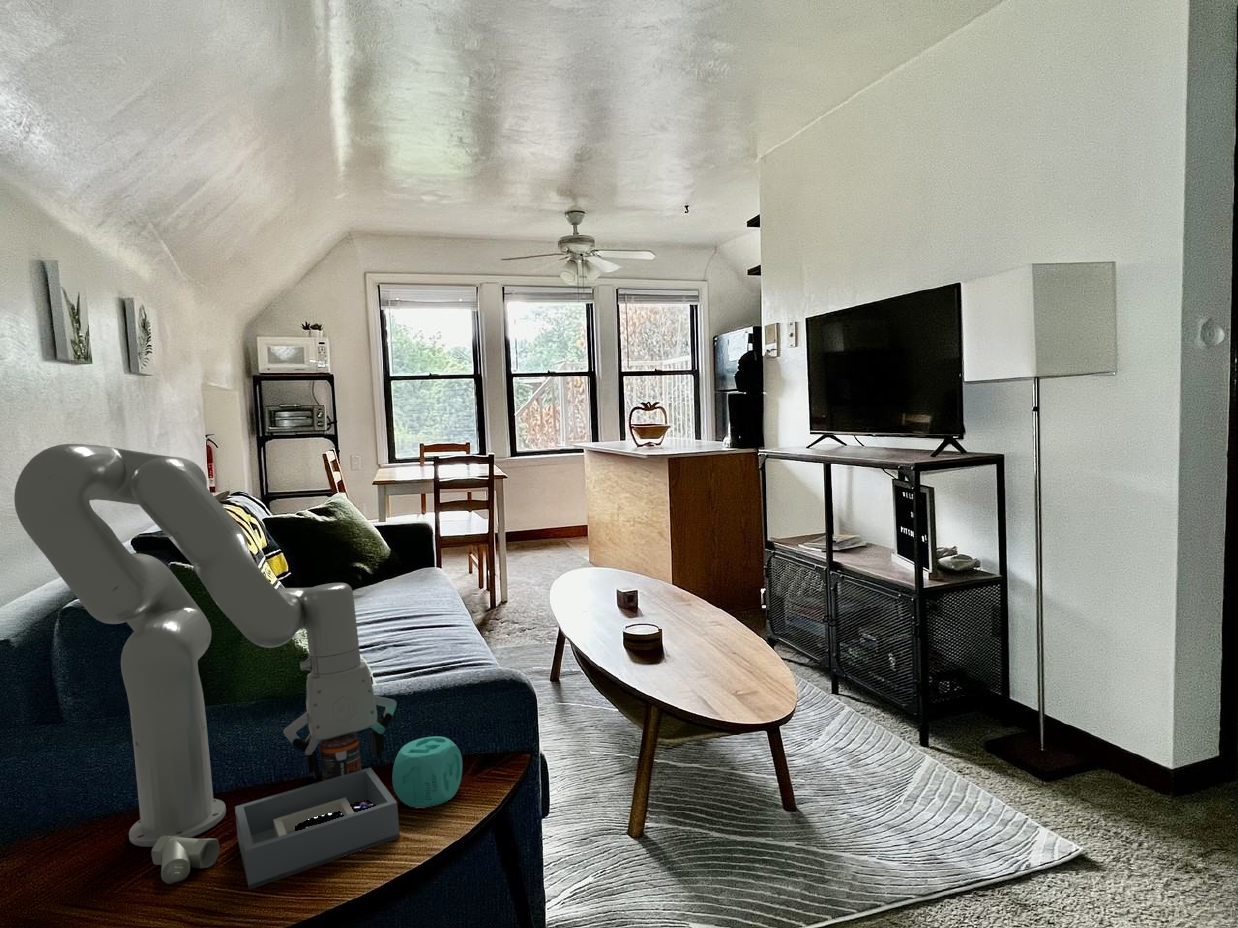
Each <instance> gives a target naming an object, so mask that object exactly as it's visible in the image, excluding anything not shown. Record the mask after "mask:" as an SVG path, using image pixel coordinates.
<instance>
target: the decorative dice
mask: <svg viewBox="0 0 1238 928" xmlns="http://www.w3.org/2000/svg"><path fill="white" fill-rule="evenodd" d="M393 763H394V764H393V766H392V773H391V775H392V776H391V777H392V778H391V779H392V780H391V781H392V782H391V783H392V787H393V791H394V793H395V794H396V796H397V798H398V799H399V800H400V801H401V802H402V803H403V804H404V805H405V806H407V805H408V806H407V807H409V806H410V807H409V808H412V807H430V806H435V805H438V804H441V805H443V804H445V803H447V802H449V801H450V800H452V799H453V797H454V796H455V795H457V792H458V790H459V787H460V785H461V781H462V775H463V756H462V753H461V750H460V749H459V747H458V746H457V744H455V743H454V741H452V740H451V739H449V738H447V737H445V736H440V735H439V736H437V735H434V736H427V737H425V736H424V737H421V738H418V739H414V740H412V741H409V742H407V743H406V744H404V745H403V746H402V747H401V748H400V750H398V752H397V755H396V757H395V760H394V762H393ZM448 800H449V801H448ZM446 801H447V802H446ZM444 802H445V803H444ZM442 803H443V804H442ZM438 806H439V805H438ZM435 807H436V806H435ZM430 808H431V807H430Z"/></svg>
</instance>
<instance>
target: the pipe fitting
mask: <svg viewBox="0 0 1238 928" xmlns="http://www.w3.org/2000/svg"><path fill="white" fill-rule="evenodd" d="M220 853H221V847H220V842H219V839H218V838H209V837H208V838H194V837H191V838H181V837H180V836H161V837H160V838H159V839H158V841H157V842H156V843H155V845H154V847H152V849H151V858H152V859H151V860H152V863H153V865H158V866H161V871H160V876H161V880H162V881H163V882H164V883H166V884H168V885H171V884H174V883H178V882H181V881H184V880H185V879H187V877H188V876H189V874H190V872H191V868H193V869H205V868H207V869H208V868H211V867H212V866H213V865H214V864H215V862H216V861H217V860H218V857H219V855H220Z"/></svg>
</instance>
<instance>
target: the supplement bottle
mask: <svg viewBox="0 0 1238 928" xmlns="http://www.w3.org/2000/svg"><path fill="white" fill-rule="evenodd" d="M319 748H320V750H319V751H320V762H321V776H322V777H321V778H322V781H325V780H328V779H332V778H335V777H339V776H342V775H346V774H349V773H353V772H356V771H360V770H362V761H361V752H360V751H361V749H360V738H359V735H358V733H357V732H353V733H350V734H346V735H343V736H339V737H335V738H332V739H328V740H323V741H320V742H319Z"/></svg>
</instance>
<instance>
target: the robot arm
mask: <svg viewBox="0 0 1238 928" xmlns="http://www.w3.org/2000/svg"><path fill="white" fill-rule="evenodd" d="M14 488H15V489H14V496H13V498H14V508H15V512H16V515H17V517H18V519H19V522H20V525H21V526H22V527H23V529H24V530H25V532H26V534H27V535H28V536H29V538H30V539H31V540H32V542H33V543H34V544H35V545H36V546H37V547H38V549H39V550H40V551H41V552H42V553H43V555H44V556H45V558H46V559H47V561H49V562H50V564H51V565H52V566H53V569H54V570H55V571H56V573H58V575H59V576H60V578H61V579H62V581H64V583H65V584H66V586H67V587H68V588H69V589H70V590H71V592H72V593H73V595H75V597H76V598H77V600H78V601H79V602H80V603H81V605H82V606H83V607H84V609H85V610H86V611H87V613H88V614H89V615H90V616H92V617H93V618H94V619H96V621H99V622H101V623H103V624H108V625H118V624H123V623H127V624H128V626H129V627H130V629H132V631H133V632H132V633H131V634H130V636H129V637H128V638H127V640H126V642H125V643H124V646H123V647H122V650H121V656H120V669H121V670H120V671H121V676H122V680H123V684H124V688H125V691H126V695H127V702H128V706H129V708H128V709H129V716H130V724H131V725H130V726H131V733H132V734H131V735H132V743H133V753H134V762H135V763H134V764H135V775H136V785H137V787H136V788H137V796H138V807H139V818H140V819H139V820H138V821H136V822H134V824H133V825H132V826H131V827H130V829H129V832H128V837H129V838H128V839H129V841H130V843H131V844H133V845H135V846H137V847H144V848H153V847H154V845H155V843H156V842H157V841H158V839H159V838H160V837H161V836H180V837H181V838H194V837H196V836H198V835H201V834H202V833H204V832H206V831H209V830H210V829H212V828H213V827H215V826H216V825H218V824H219V823H220V822H221V821H222V820H223V819H224V818H225V816H226V813H227V808H226V804H225V802H224V801H223V800H221V799H219V798H218V799H217V798H214V792H213V790H214V789H213V781H212V780H213V779H212V769H211V768H212V767H211V760H210V759H211V758H210V749H209V737H208V727H207V726H208V725H207V716H206V706H205V699H204V698H205V697H204V691H203V685H202V681H201V677H200V673H199V672H200V671H199V665H198V664H199V663H198V662H199V660H200V659H201V657H203V656H204V654H205V653H206V651H207V650H208V648H209V647H210V645H211V641H212V628H211V624H210V622H209V620H208V619H207V616H206V615H205V613H204V612H203V611H202V609H201V608H200V607H199V605H198V604H197V603H196V601H195V600H194V599H193V598H192V596H191V595H190V593H189V592H188V591H187V590H186V589H185V587H184V585H183V584H182V583H181V582H180V581H179V579H178V578H177V577H176V575H175V574H174V573H173V571H172V570H171V569H170V568H169V567H168V566H167V565H166V564H165V563H164V562H163V561H162V560H159V559H158V558H156V557H154V556H152V555H149V554H146V553H145V554H144V553H131V552H130V551H129V549H127V548H126V546H125V545H124V544H123V543H122V541H121V540H120V539H119V538H118V536H117V535H116V533H115V532H114V530H113V529H112V528H111V527H110V525H108V524H107V522H105V520H103V519H102V518H101V516H99V515H98V513H96V512H95V510H94V509H93V508H92V506H91V505H92V504H91V502H90V501H94V500H97V501H98V500H99V501H109V502H115V503H123V504H130V505H137V506H140V507H141V509H142V510H143V511H144V512H145V514H147V515H148V517H149V518H150V519H151V520H152V521H153V522H154V523H155V524H156V526H158V528H159V529H160V530H161V531H162V532H163V533H164V535H165V536H166V537H167V538H168V539H169V540H170V541H171V542H172V543H173V545H174V546H175V547H176V548H177V549H178V550H179V551H180V553H181V554H182V555H183V556H184V557H185V559H187V561H188V562H189V563H190V564H191V565H192V567H193V569H194V572H195V574H196V575H197V577H198V578H199V579H200V581H201V583H202V584H203V586H204V587H205V588H206V591H207V592H208V594H209V595H210V596H211V598H212V600H213V601H214V602H215V604H216V605H217V606H218V608H219V609H220V610H221V612H223V614H224V615H225V616H226V617H227V618H228V619H229V620H230V621H231V622H232V624H233V625H234V626H235V627H236V628H237V630H239V631H240V632H241V634H242V635H243V636H244V637H245V638H246V639H247V640H248V641H250V642H251V643H253V644H254V645H256V646H259V647H262V648H267V649H272V648H277V647H280V646H283V645H285V644H287V643H288V642H290V641H291V640H292V639H293V638H294V637H295V635H296V634H297V633H298V632H299V631H300V630H304V631H306V638H307V647H308V655H307V656H308V657H307V659H305V660H304V661H300V662H299V664H300V666H299V667H300V670H301V671H309V673H308V674H307V676H306V685H305V705H306V708H305V709H306V710H305V712H304V713H303V714H301V715H300V716H299V717H297V719H295V720H294V721H293V722H291V723H290V724H288V726H286V727H285V728H284V729H283V735H284V737H286V738H287V740H288V741H289V743H290V744H291V745H292V746H293V747H294V748H296V750H299V751H301V752H302V753H304V754H305V760H306V761H305V762H306V769H307V770H306V771H307V773H308V774H312V776H313V778H314V780H316V779H319V778H320V777H321V774H320V765H319V757H318V753H317V751H316V748H317V746H318V745H319V744H320V742H321V741H323V740H328V739H332V738H335V737H339V736H343V735H346V734H350V733H353V732H356V733H357V732H360V731H363V730H365V729H369V728H371V729H372V730H371V732H370V736H371V746H372V753H373V756H374V757H375V758H376V759H377V760H382V759H383V754H382V753H383V751H386V749H385V742H384V741H385V740H384V733H385V732H386V728H387V727H388V725H389V724H390V723H391V721H392V719H393V715H394V713H395V710H396V708H397V704H398V703H397V701H396V700H395V699H392V698H387V697H383V696H379V695H375V692H374V691H375V690H374V687H373V683H372V677H371V674H370V670H369V668H368V665H367V663H365V662H362V659H361V651H360V644H359V643H360V642H359V634H358V625H357V616H356V607H355V598H354V592H353V588H352V587H351V586H350V585H349V584H348V583H345V582H332V583H325V584H324V583H323V584H320V585H316V586H313V587H312V586H311V587H283V588H282V587H281V588H276V587H275V586H274V585H273V584H272V582H270V579H268V578H267V577H266V576H265V574H264V573H263V572H262V570H261V568H260V567H259V566H258V564H257V563H256V561H255V560H254V558H253V556H252V553H251V552H250V548H249V545H248V540H247V536H246V534H245V531H244V530H243V529H242V527H241V525H240V524H239V523H238V522H237V521H236V520H235V518H233V517H232V515H231V514H230V513H229V512H228V510H227V509H226V508H225V507H224V506H223V505H222V504H221V502H220V501H219V500H218V499H217V498H216V497H215V495H214V494H213V493H212V492H211V491H210V490H209V489H208V481H207V476H206V474H205V472H204V471H203V469H202V468H201V467H200V465H198V464H197V463H196V462H194V461H192V460H191V459H188V458H184V457H178V456H168V455H161V454H155V453H148V452H143V451H142V452H141V451H136V450H130V449H123V448H117V447H110V446H106V445H98V444H97V445H96V444H84V443H83V444H82V443H62V444H58V445H53V446H50V447H48V448H45V449H43V450H41V451H40V452H39V453H37V454H36V455H35V456H33V457H32V458H30V460H29V461H28V462H27V464H26V465H25V466H24V467H23V469H22V471H21V473H20V475H19V476H18V479H17V481H16V484H15V487H14ZM377 706H379V707H384V712H383V713H382V714H381V716H380V718H378V710H377V709H378V708H377ZM305 726H307V728H308V729H307V730H308V732H309V734H308V736H307V737H306V738H305V740H304V739H302V738H301V737H299V736H298V735H297V732H298V731H300V730H301V729H302V728H304V727H305Z"/></svg>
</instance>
